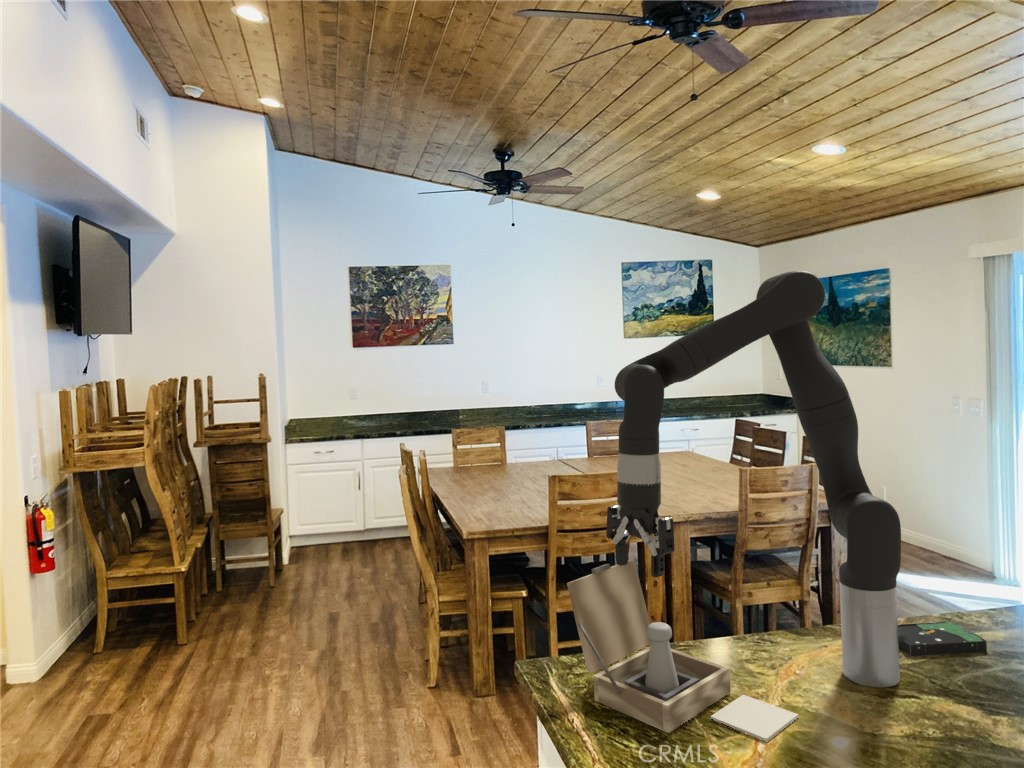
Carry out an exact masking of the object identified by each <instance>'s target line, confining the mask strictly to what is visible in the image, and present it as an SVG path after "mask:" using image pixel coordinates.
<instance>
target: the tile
mask: <svg viewBox="0 0 1024 768" xmlns="http://www.w3.org/2000/svg"><path fill="white" fill-rule="evenodd" d="M797 718H798V719H799V713H796V712H792V711H790V710H788V709H784V708H782V707H779V706H777V705H773V704H771V703H769V702H765V701H763V700H759V699H757V698H754V697H751V696H749V695H745V694H742V695H740V696H739V697H738V698H737V697H736V698H735V699H734V700H732V701H731V702H729V703H728V704H727V705H725V706H724V707H722V708H721V709H719V710H718V711H716V712H715V713H714V714H712V715H710V720H711V719H713V720H715V721H717V722H720V723H723V724H725V725H727V726H730V727H732V728H734V729H733V730H735V729H737V730H739V731H742V732H744V733H747V734H749V735H751V736H750V737H752V736H754V737H756V738H755V739H757V738H758V739H757V740H759V739H761V740H760V741H762V740H763V741H762V742H764V741H765V743H769V741H771V740H772V739H773V738H775V737H776V736H777V735H779V734H780V733H781V732H782V731H784V730H785V729H787V728H788V727H789V726H790V725H791V724H793V723H794V722H795V721H797V720H798V719H797ZM794 720H795V721H794ZM715 721H714V722H715ZM717 722H716V723H717ZM792 722H793V723H792ZM720 723H719V724H720ZM789 724H790V725H789ZM725 725H724V726H725ZM788 725H789V726H788ZM727 726H726V727H727ZM730 727H729V728H730ZM732 728H731V729H732ZM784 728H785V729H784ZM783 729H784V730H783ZM737 730H736V731H737ZM739 731H738V732H739ZM780 731H781V732H780ZM742 732H741V733H742ZM779 732H780V733H779ZM744 733H743V734H744ZM747 734H746V735H747ZM749 735H748V736H749ZM775 735H776V736H775ZM774 736H775V737H774ZM754 737H753V738H754ZM771 738H772V739H771ZM770 739H771V740H770Z"/></svg>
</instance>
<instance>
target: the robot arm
mask: <svg viewBox="0 0 1024 768" xmlns="http://www.w3.org/2000/svg"><path fill="white" fill-rule="evenodd" d="M825 291H826V290H825V286H824V284H823V283H822V281H821V279H820V278H819V277H818V276H816V275H815V274H813V273H812V272H809V271H806V270H805V271H804V270H791V271H787V272H784V273H781V274H777V275H774V276H771V277H769V278H767V279H765V280H764V281H763V282H762V283H761V284H760V286H759V288H758V290H757V292H756V297H755V299H754V300H752V301H751V302H750V303H748V304H746V305H744V306H743V307H741V308H739V309H737V310H735V311H734V312H731V313H729V314H726V315H724V316H722V317H720V318H718V319H715V320H713V321H710V322H708V323H706V324H704V325H701V326H700V327H698V328H695V329H694V330H693V331H691V332H689V333H687V334H685V335H682V336H681V337H679V338H678V339H676V340H674V341H672V342H670V343H669V344H668V345H666V346H665V347H663V348H661V349H660V350H657V351H655V352H653V353H650V354H648V355H646V356H644V357H642V358H639V359H637V360H635V361H633V362H631V363H629V364H628V365H626V366H625V367H623V368H621V370H619V372H618V373H617V375H616V376H615V380H614V390H615V393H616V395H617V396H618V397H619V398H620V399H621V400H622V401H623V402H624V404H623V406H624V407H623V408H624V409H623V419H622V421H621V422H620V423H619V427H618V457H617V464H616V467H617V469H616V471H617V472H616V474H617V475H616V477H617V479H616V485H617V486H616V487H617V488H616V490H617V493H616V494H617V495H616V499H617V500H616V501H617V504H616V505H611V506H608V507H607V509H606V510H607V511H606V531H605V532H606V538H607V539H608V540H612V542H613V544H614V545H615V547H614V549H615V556H614V558H615V561H616V563H615V564H616V565H620V566H622V565H626V564H627V563H628V560H629V544H628V543H627V542H628V541H629V539H630V537H631V536H632V537H633V536H635V537H637V538H638V539H642V541H643V543H644V544H645V545H647V547H648V549H649V551H650V553H651V556H650V558H651V559H650V561H651V562H650V574H651V576H652V577H653V578H659V577H662V576H663V574H665V570H666V569H665V566H666V565H665V563H666V562H665V559H666V558H665V556H666V554H671V553H674V552H675V550H676V549H675V548H676V547H675V530H674V519H673V517H672V516H668V517H661V516H660V515H659V508H660V506H661V504H662V487H661V486H662V482H661V481H662V473H661V471H662V469H661V467H662V466H661V458H660V424H661V418H662V412H663V407H664V402H665V389H666V388H668V387H669V386H671V385H673V384H676V383H682V382H684V381H685V382H686V381H688V380H691V379H692V378H693V377H696V376H697V375H699V374H701V373H703V372H704V371H706V370H707V369H709V368H711V367H713V366H714V365H716V364H718V363H720V362H721V361H723V360H725V359H726V358H728V357H730V356H731V355H733V354H735V353H736V352H738V351H740V350H742V349H743V348H745V347H746V346H748V345H750V344H752V343H754V342H757V341H759V339H762V338H764V337H767V336H768V335H769V338H770V340H771V342H772V345H773V347H774V348H775V351H776V354H777V356H778V359H779V362H780V365H781V368H782V371H783V373H784V374H783V375H784V377H785V380H786V383H787V386H788V389H789V391H790V394H791V397H792V401H793V405H794V408H795V411H796V413H797V416H798V419H799V422H800V425H801V427H802V430H803V432H804V434H805V438H806V440H807V443H808V445H809V449H810V452H811V454H812V456H813V457H812V458H813V460H814V462H815V464H816V467H817V469H818V472H819V476H820V478H821V482H822V487H823V491H824V496H825V500H826V504H827V505H826V506H827V510H828V513H829V518H830V522H831V524H832V526H833V528H834V529H835V531H836V532H837V533H838V534H840V536H841V537H843V538H844V539H846V552H847V553H846V561H845V562H843V563H842V564H840V565H839V569H838V577H839V579H838V580H839V582H838V583H839V600H840V601H839V602H840V603H839V604H840V626H841V629H840V631H841V650H842V651H841V654H842V655H841V656H842V657H841V658H842V674H843V676H844V677H845V678H847V680H849V681H851V682H853V683H856V684H857V685H861V686H865V687H870V688H891V687H893V686H896V685H898V684H899V683H900V680H901V673H900V672H901V671H900V648H899V640H898V625H899V620H898V618H899V616H898V595H897V594H898V591H897V577H898V574H899V572H900V569H901V566H902V565H901V563H902V527H901V519H900V516H899V513H898V511H897V510H896V509H895V507H894V506H893V505H892V504H891V503H889V502H888V501H886V500H884V499H882V498H880V497H878V496H875V495H874V494H873V493H872V492H871V490H870V488H869V485H868V483H867V481H866V478H865V476H864V474H863V471H862V468H861V465H860V461H859V452H858V449H859V424H858V423H859V422H858V419H857V414H856V412H855V408H854V404H853V401H852V399H851V397H850V394H849V391H848V387H846V383H845V382H844V380H843V379H842V377H841V376H840V374H839V372H838V371H837V370H836V369H835V367H834V366H833V365H832V364H831V363H830V361H829V360H828V359H827V358H826V356H825V355H824V353H823V352H822V351H821V349H820V348H819V346H818V345H817V343H816V340H815V338H814V335H813V332H812V329H811V326H810V323H809V320H812V318H814V317H815V316H816V315H817V314H818V313H819V312H820V311H821V309H822V308H823V306H824V304H825V298H826V292H825Z"/></svg>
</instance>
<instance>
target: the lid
mask: <svg viewBox="0 0 1024 768" xmlns="http://www.w3.org/2000/svg"><path fill="white" fill-rule="evenodd" d="M640 581H641V580H640V577H639V573H638V568H637V565H636V562H635V559H634V558H633V559H628V563H627V564H626V565H622V566H620V565H617V564H615V565H612V566H611V563H605V564H602V565H599V566H597V567H594V568H591V573H590V574H588V575H585V576H582V577H579V578H577V579H574V580H572V581H569V582H567V583H566V586H567V590H568V595H569V600H570V603H571V607H572V608H571V609H572V610H573V616H574V619H575V624H576V628H577V632H578V637H579V641H580V645H581V649H582V654H583V658H584V663H585V666H586V671H587V674H593V673H596V672H598V671H599V670H602V669H603V667H602V666H601V664H600V662H599V661H598V659H597V657H596V655H595V654H594V652H593V650H592V649H591V647H590V645H589V643H588V642H587V640H586V638H585V637H584V635H583V633H582V632H581V630H580V628H579V626H578V625H577V624H578V622H580V623H581V625H582V627H583V628H584V630H585V632H586V633H587V635H588V637H589V638H590V640H591V642H592V644H593V645H594V647H595V649H596V650H597V652H598V654H599V655H600V657H601V659H602V660H603V662H604V664H605V666H606V667H608V666H609V665H612V664H614V663H616V662H617V661H620V660H621V659H623V658H625V657H627V656H629V655H632V654H633V653H635V652H637V651H638V652H639V650H641V649H643V648H645V647H648V646H650V645H651V640H650V639H649V638H648V636H647V627H648V626H649V625H650V624H651V621H650V618H649V613H648V610H647V609H648V608H647V605H646V601H645V596H644V592H643V589H642V585H641V582H640Z"/></svg>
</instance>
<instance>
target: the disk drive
mask: <svg viewBox="0 0 1024 768" xmlns="http://www.w3.org/2000/svg"><path fill="white" fill-rule="evenodd" d="M898 640H899V650H900V649H901V651H903V652H905V653H906V654H907V655H908V656H910V657H923V656H925V657H926V656H940V655H941V656H942V655H956V654H957V655H958V654H976V653H978V654H979V653H987V652H988V647H987V645H988V643H987V640H986V639H984V638H982V637H981V636H979V635H977V634H976V633H975V632H973V631H971V630H967V628H964V627H962V626H961V625H960V624H959V625H958V622H955V621H954V622H952V621H950V622H949V621H948V622H946V621H939V622H924V623H923V622H922V623H921V622H920V623H902V624H901V623H900V624H899V623H898Z"/></svg>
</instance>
